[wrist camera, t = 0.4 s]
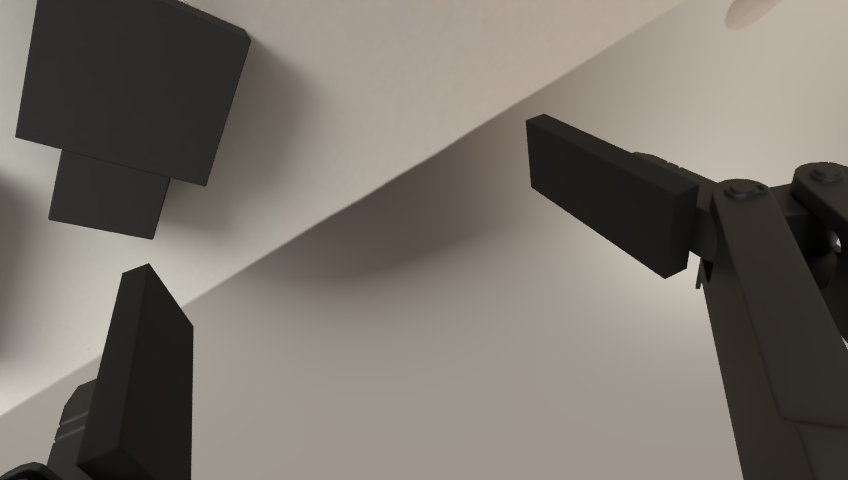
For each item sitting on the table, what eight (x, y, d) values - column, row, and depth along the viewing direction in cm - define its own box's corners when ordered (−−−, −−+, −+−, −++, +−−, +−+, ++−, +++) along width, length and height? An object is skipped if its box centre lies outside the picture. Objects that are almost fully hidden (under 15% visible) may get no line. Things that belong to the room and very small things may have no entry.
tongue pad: (67, -48, 22) (45, -50, 19) (245, 29, 26) (251, 39, 23) (27, 180, 25) (2, 211, 22) (188, 216, 30) (187, 247, 26)
